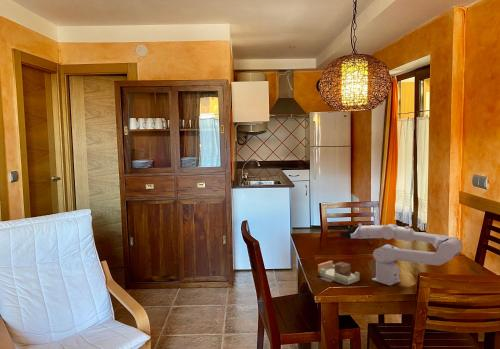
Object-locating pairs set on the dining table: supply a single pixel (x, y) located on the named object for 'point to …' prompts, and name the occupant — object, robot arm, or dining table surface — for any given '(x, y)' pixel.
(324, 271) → the trap lane
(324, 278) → the mats
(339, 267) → the walnut block
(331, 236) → the dining table surface
